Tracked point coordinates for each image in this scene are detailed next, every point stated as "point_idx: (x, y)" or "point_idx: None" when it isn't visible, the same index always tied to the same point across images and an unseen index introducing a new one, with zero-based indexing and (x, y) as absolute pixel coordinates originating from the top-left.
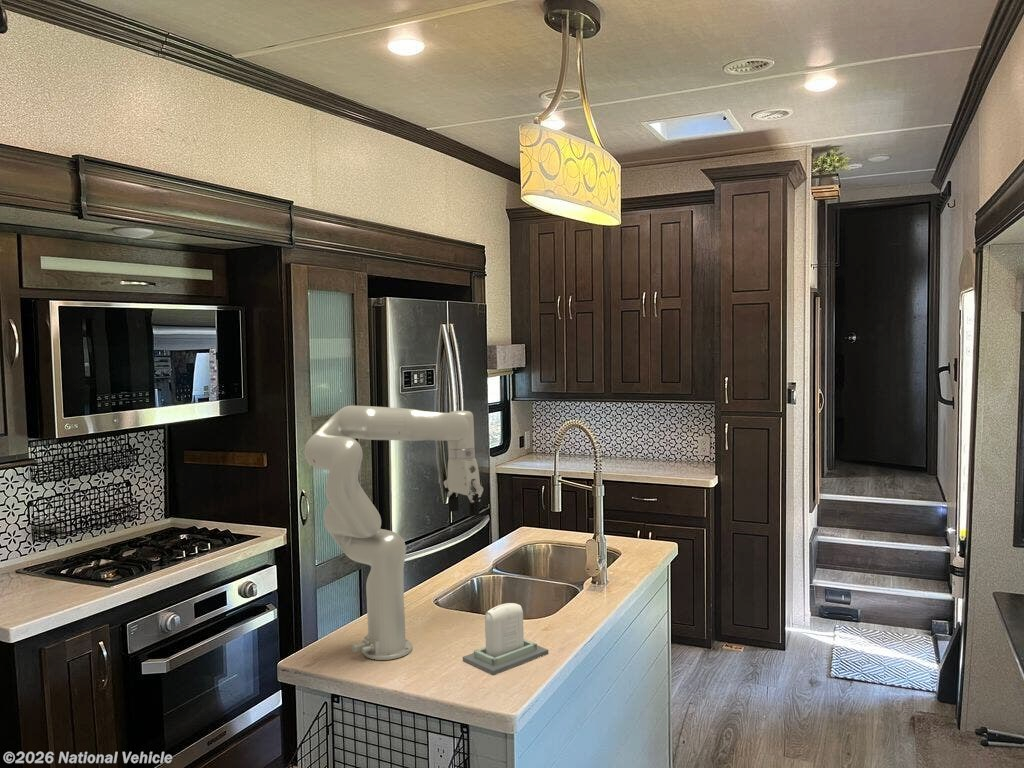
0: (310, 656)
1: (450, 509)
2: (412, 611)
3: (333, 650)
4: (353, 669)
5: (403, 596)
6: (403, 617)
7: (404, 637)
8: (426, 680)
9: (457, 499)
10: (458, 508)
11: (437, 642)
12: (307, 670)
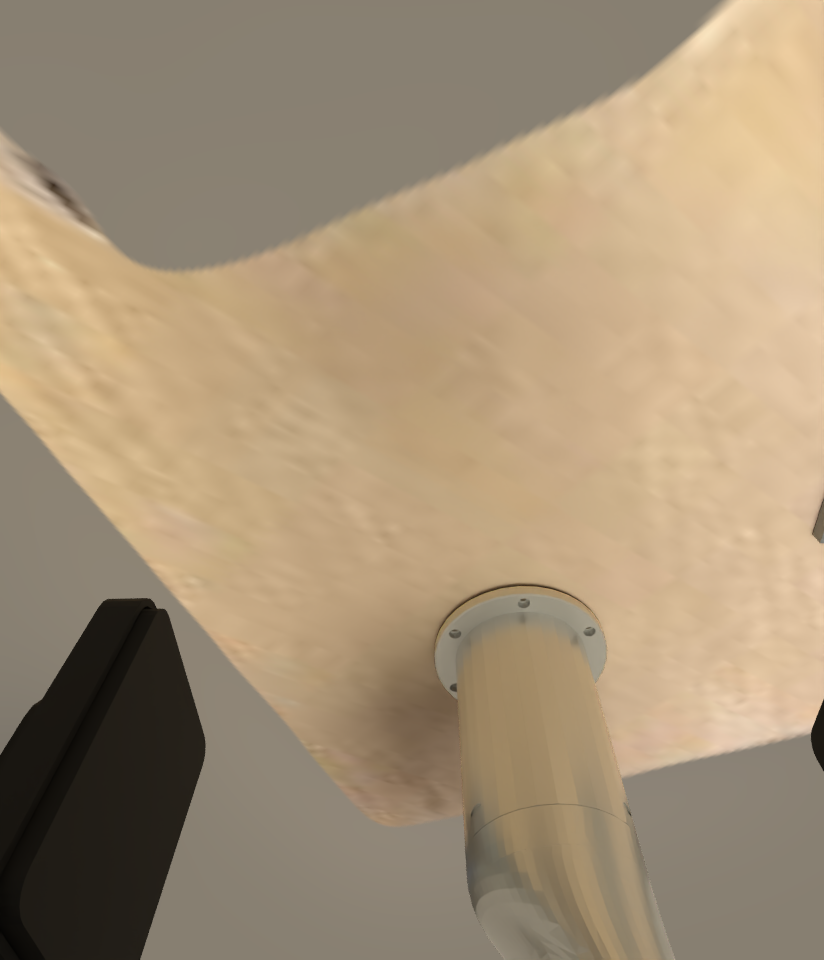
0: (378, 783)
1: (194, 786)
2: (179, 391)
3: (382, 736)
4: None
5: (613, 794)
6: (601, 723)
7: (582, 657)
8: (806, 671)
9: (54, 853)
10: (150, 627)
11: (594, 505)
12: None
